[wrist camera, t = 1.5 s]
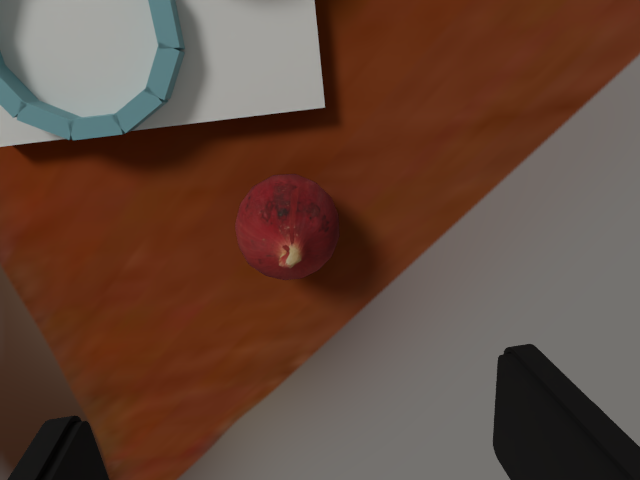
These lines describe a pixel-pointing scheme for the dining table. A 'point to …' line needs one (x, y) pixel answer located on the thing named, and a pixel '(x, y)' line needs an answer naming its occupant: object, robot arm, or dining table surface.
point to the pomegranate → (287, 227)
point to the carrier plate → (151, 64)
